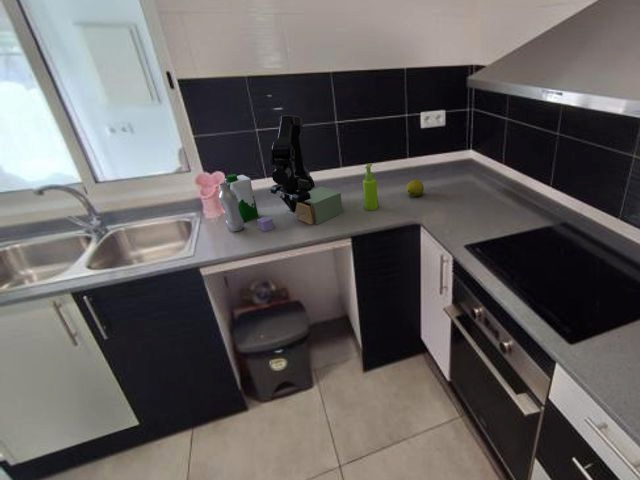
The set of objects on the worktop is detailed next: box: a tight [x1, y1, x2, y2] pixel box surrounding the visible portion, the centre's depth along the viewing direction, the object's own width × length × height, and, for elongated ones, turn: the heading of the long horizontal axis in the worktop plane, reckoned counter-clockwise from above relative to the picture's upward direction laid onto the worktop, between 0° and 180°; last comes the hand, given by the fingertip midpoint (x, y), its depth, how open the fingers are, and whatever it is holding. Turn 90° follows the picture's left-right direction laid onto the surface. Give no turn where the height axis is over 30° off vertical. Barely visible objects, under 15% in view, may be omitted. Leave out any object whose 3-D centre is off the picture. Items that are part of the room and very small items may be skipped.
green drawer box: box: [304, 186, 344, 225], centre depth 166 cm, size 15×13×10 cm
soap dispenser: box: [362, 163, 379, 211], centre depth 170 cm, size 6×7×20 cm
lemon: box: [405, 179, 425, 197], centre depth 184 cm, size 11×8×8 cm
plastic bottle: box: [218, 181, 245, 232], centre depth 152 cm, size 6×7×20 cm
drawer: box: [285, 201, 315, 225], centre depth 162 cm, size 18×11×8 cm, turn 143°
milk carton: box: [224, 173, 259, 223], centre depth 162 cm, size 9×9×20 cm
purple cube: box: [256, 215, 275, 232], centre depth 156 cm, size 4×4×4 cm
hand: (293, 211), depth 156 cm, fingers closed, pressing on drawer
